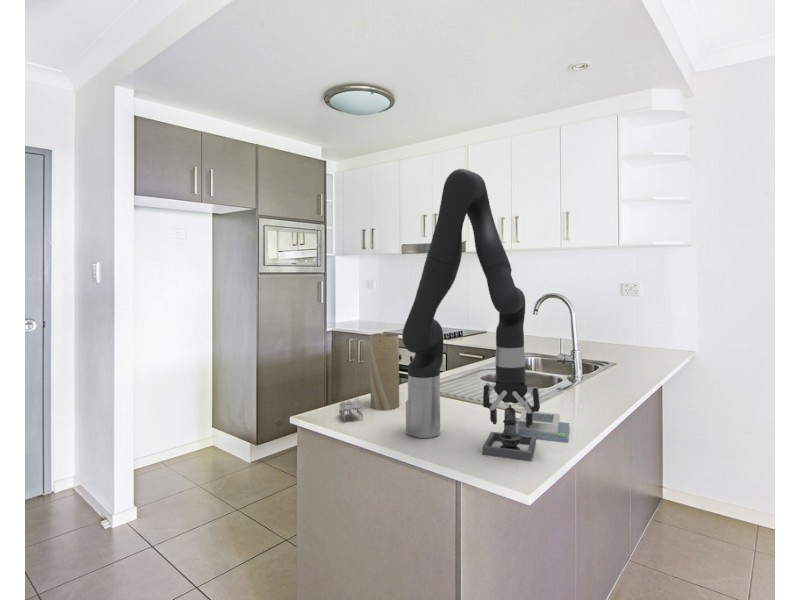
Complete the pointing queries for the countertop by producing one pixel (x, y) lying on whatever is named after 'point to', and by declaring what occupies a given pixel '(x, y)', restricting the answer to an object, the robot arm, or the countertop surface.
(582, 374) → the countertop surface
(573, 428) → the countertop surface
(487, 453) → the dark grey square frame
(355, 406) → the building frame
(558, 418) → the port panel
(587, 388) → the countertop surface
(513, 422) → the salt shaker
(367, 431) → the countertop surface
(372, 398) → the tube
